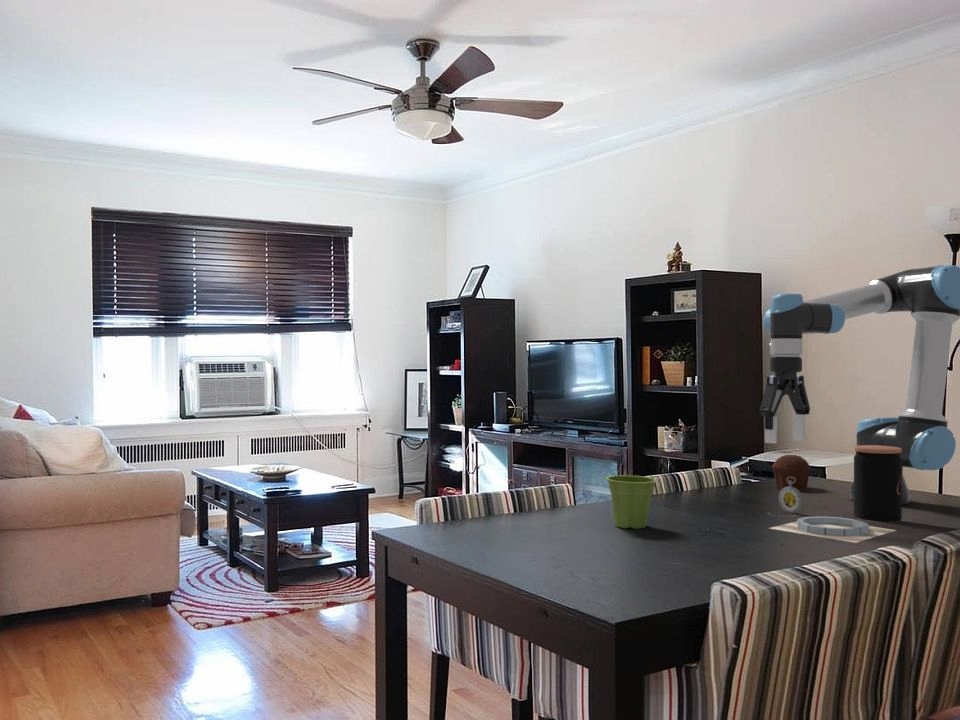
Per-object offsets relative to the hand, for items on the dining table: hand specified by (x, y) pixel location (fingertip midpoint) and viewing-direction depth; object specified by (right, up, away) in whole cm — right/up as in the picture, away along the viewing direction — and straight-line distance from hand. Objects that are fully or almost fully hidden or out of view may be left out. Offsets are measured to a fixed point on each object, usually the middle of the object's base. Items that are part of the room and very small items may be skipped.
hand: (785, 441), depth 214 cm
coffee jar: (+21, -19, -4) cm, 29 cm away
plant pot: (-40, -19, -12) cm, 46 cm away
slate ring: (+4, -18, -19) cm, 27 cm away
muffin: (+19, -19, +49) cm, 56 cm away
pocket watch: (0, -19, 0) cm, 19 cm away
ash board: (+4, -19, -19) cm, 27 cm away
